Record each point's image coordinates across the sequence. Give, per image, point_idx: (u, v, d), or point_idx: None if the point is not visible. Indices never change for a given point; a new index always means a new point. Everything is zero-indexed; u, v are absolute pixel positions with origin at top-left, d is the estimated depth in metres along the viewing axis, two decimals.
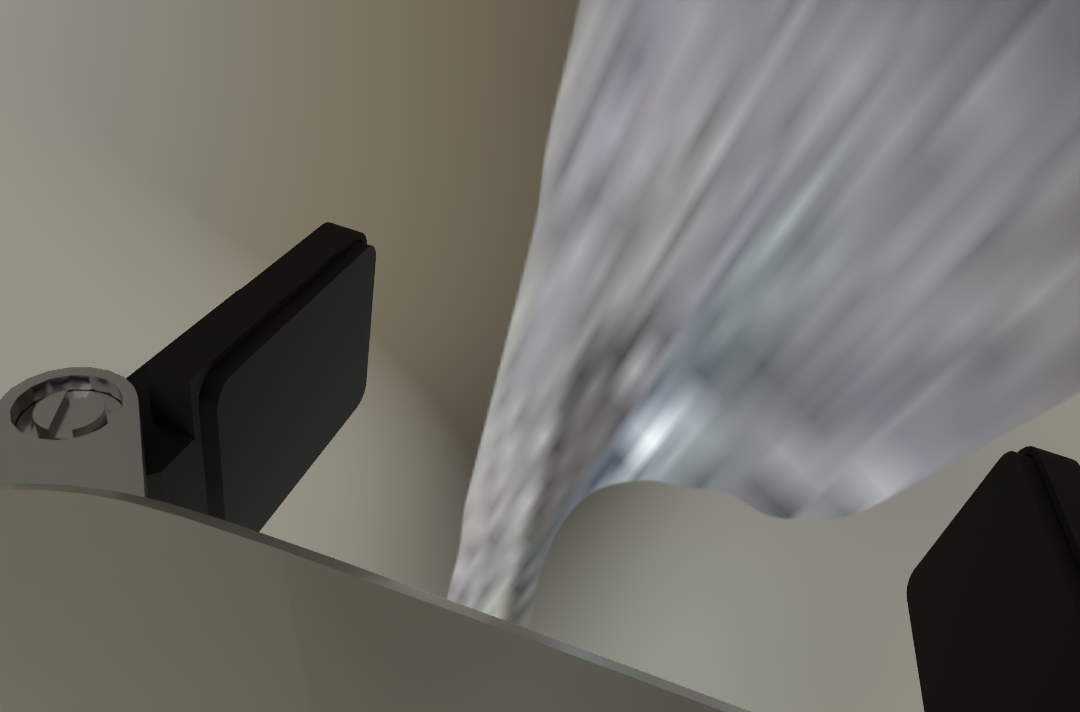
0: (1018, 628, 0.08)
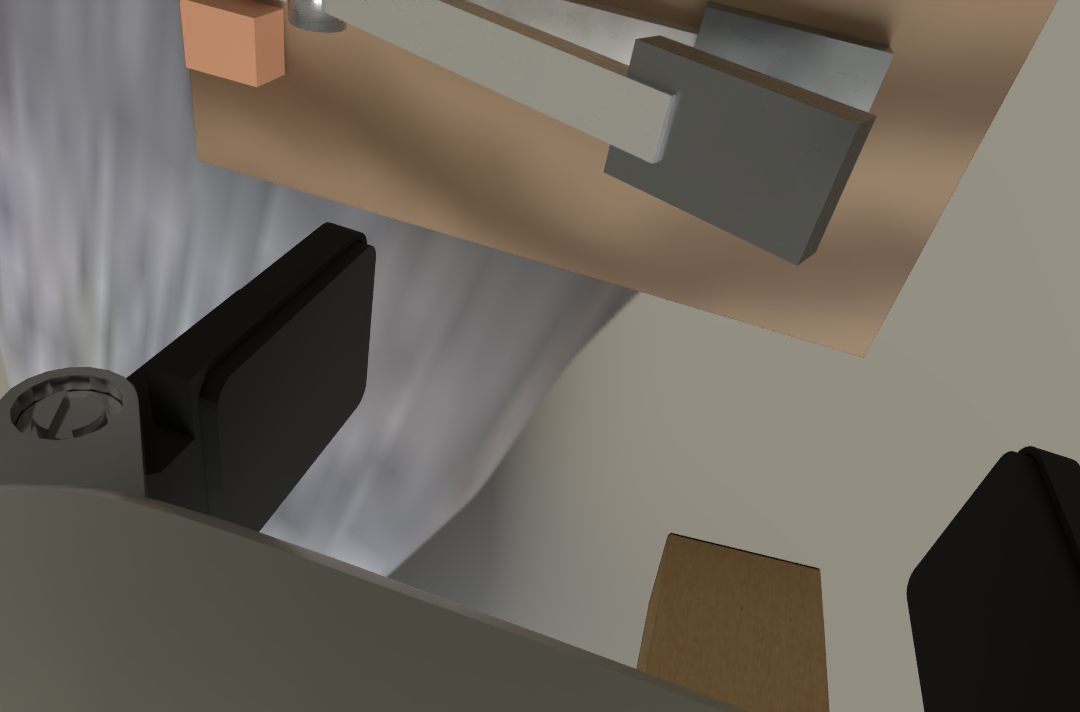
0: (1018, 628, 0.08)
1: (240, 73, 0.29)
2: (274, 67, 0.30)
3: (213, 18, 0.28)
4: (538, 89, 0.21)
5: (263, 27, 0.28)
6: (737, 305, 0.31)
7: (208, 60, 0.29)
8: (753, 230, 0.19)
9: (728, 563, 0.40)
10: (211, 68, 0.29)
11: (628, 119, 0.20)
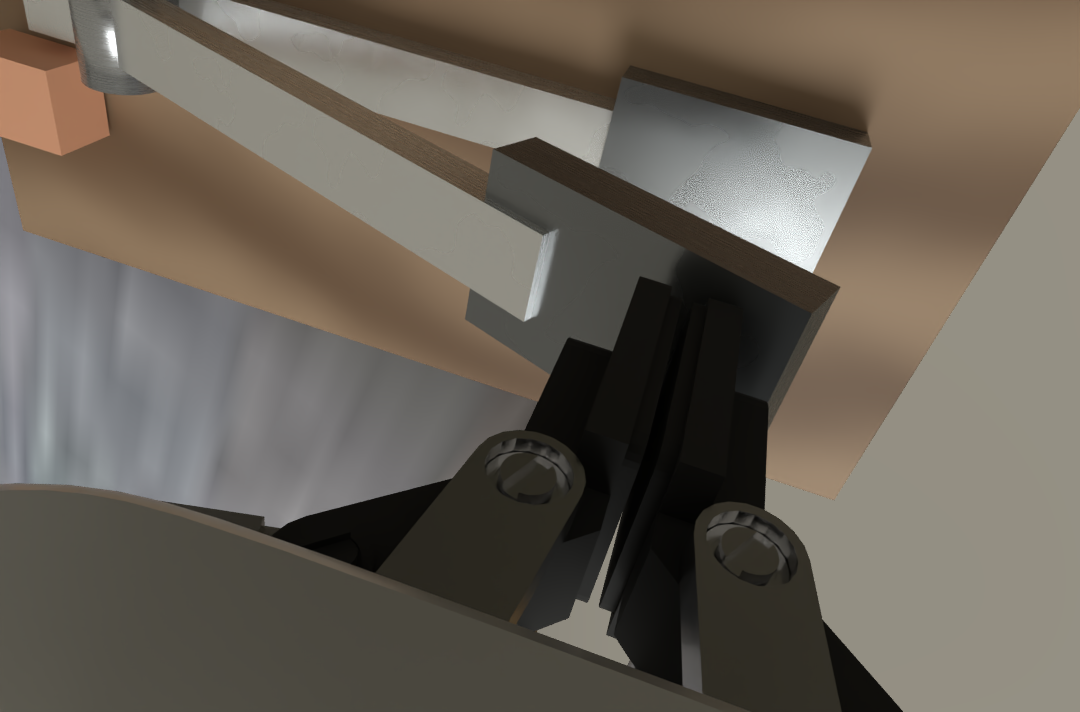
0: (656, 433, 0.10)
1: (39, 138, 0.22)
2: (90, 128, 0.23)
3: None
4: (374, 201, 0.15)
5: (64, 81, 0.22)
6: None
7: None
8: None
9: None
10: (3, 130, 0.23)
11: (489, 258, 0.14)
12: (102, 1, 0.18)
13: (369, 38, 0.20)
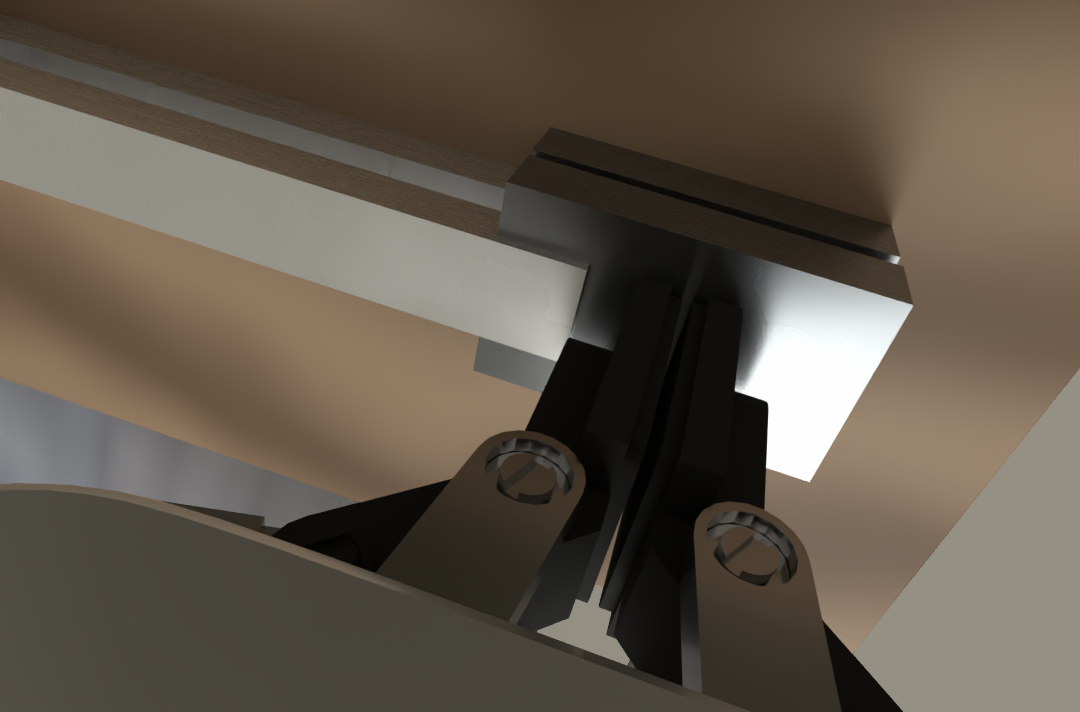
0: (656, 433, 0.10)
1: None
2: None
3: None
4: (335, 259, 0.13)
5: None
6: None
7: None
8: None
9: None
10: None
11: (511, 303, 0.12)
12: None
13: (183, 88, 0.14)
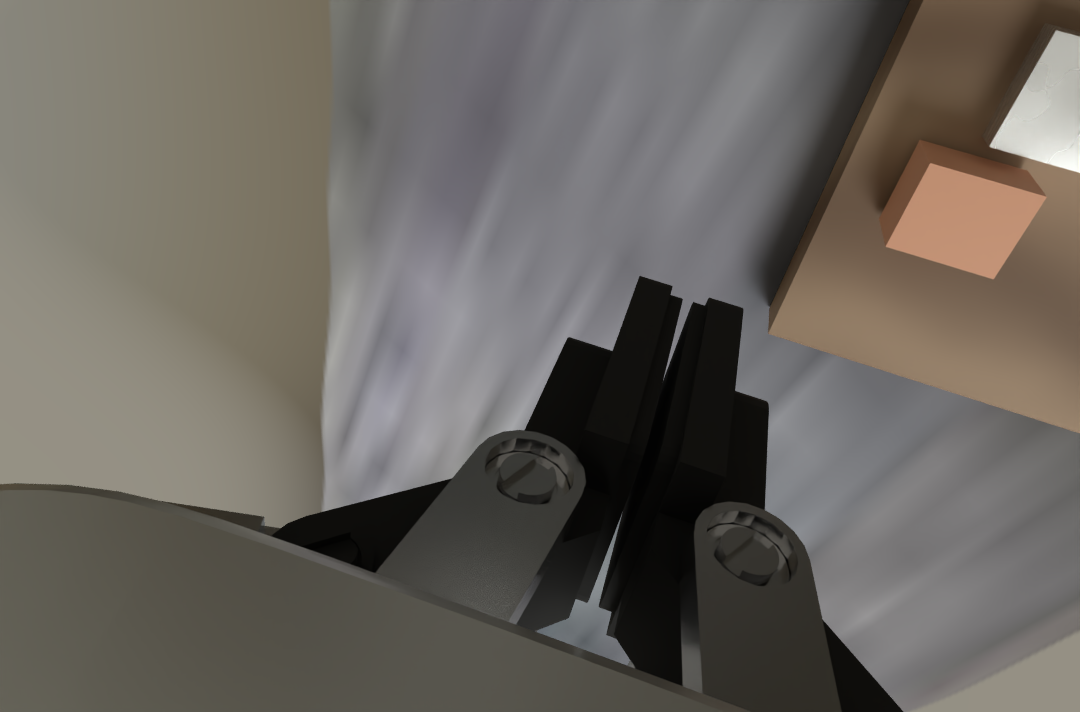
0: (656, 433, 0.10)
1: (976, 261, 0.21)
2: None
3: (974, 192, 0.20)
4: None
5: None
6: None
7: (930, 241, 0.21)
8: None
9: None
10: (929, 251, 0.21)
11: None
12: None
13: None
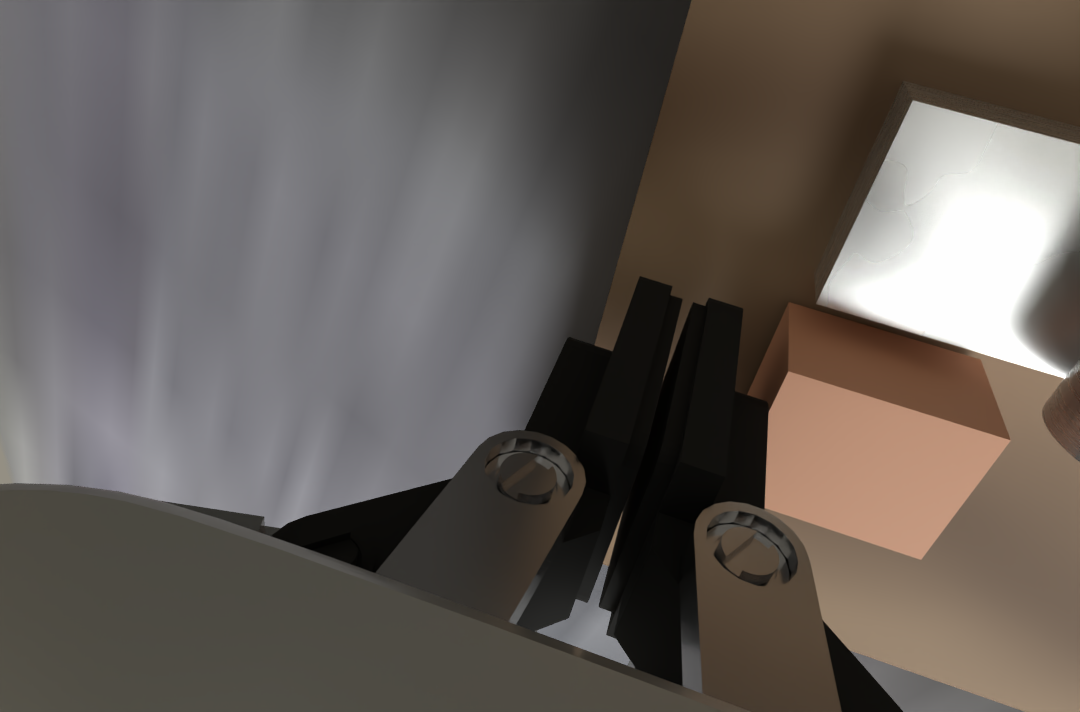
0: (656, 433, 0.10)
1: (887, 530, 0.11)
2: None
3: (875, 424, 0.10)
4: None
5: None
6: None
7: (804, 494, 0.11)
8: None
9: None
10: (804, 509, 0.12)
11: None
12: None
13: None
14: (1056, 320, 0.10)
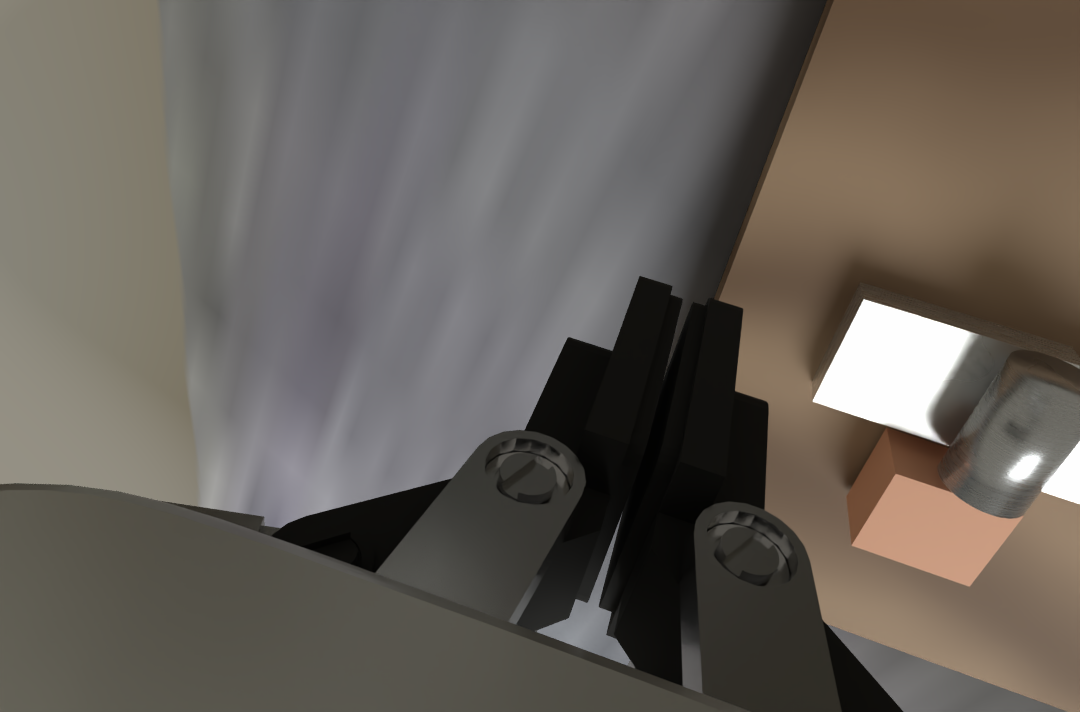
0: (656, 433, 0.10)
1: (949, 568, 0.19)
2: None
3: (945, 504, 0.18)
4: None
5: None
6: None
7: (899, 545, 0.19)
8: None
9: None
10: (898, 554, 0.19)
11: None
12: None
13: None
14: (946, 415, 0.18)
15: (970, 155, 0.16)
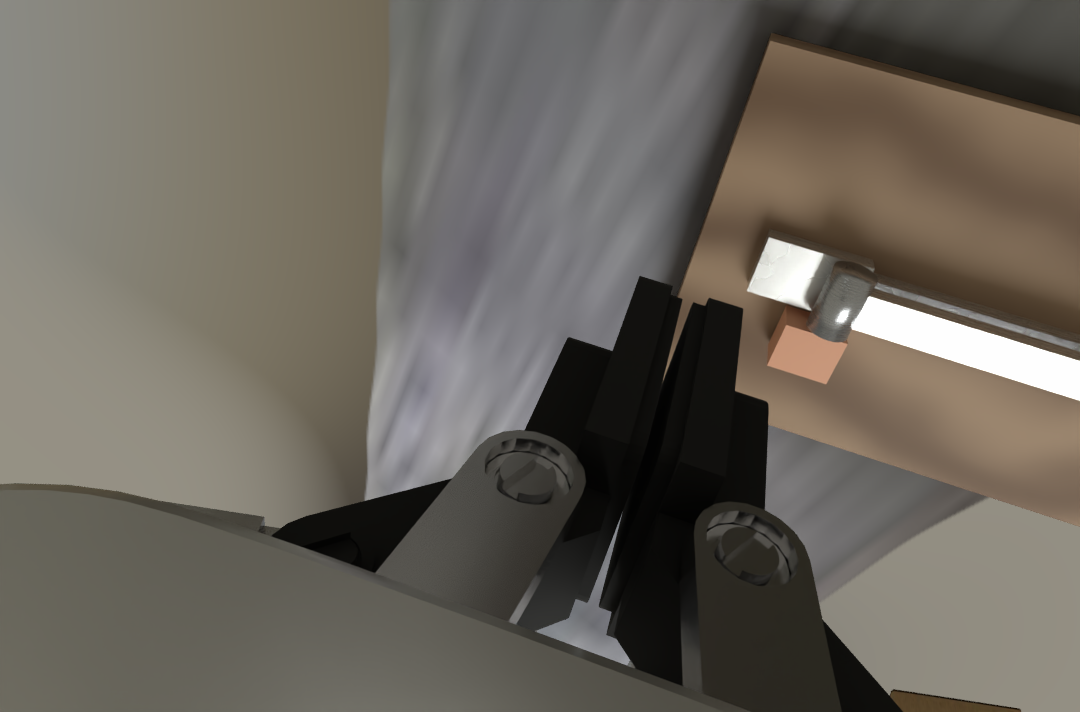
0: (656, 433, 0.10)
1: (815, 374, 0.38)
2: None
3: (810, 340, 0.37)
4: (1070, 385, 0.34)
5: None
6: None
7: (790, 363, 0.38)
8: None
9: None
10: (790, 368, 0.38)
11: None
12: (865, 301, 0.34)
13: (984, 313, 0.35)
14: (812, 295, 0.37)
15: (817, 167, 0.34)
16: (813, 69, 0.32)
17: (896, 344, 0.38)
